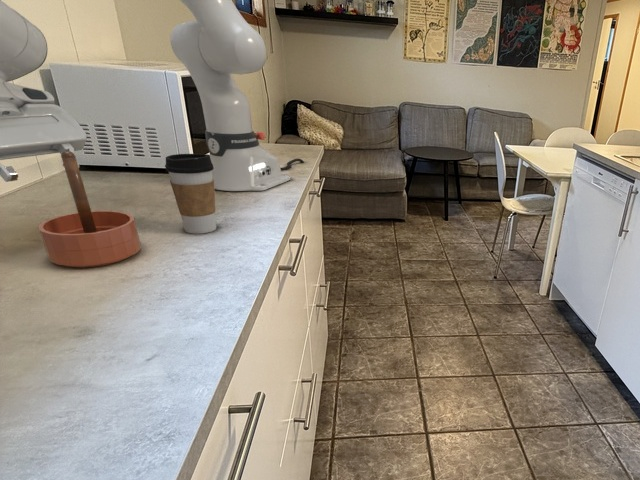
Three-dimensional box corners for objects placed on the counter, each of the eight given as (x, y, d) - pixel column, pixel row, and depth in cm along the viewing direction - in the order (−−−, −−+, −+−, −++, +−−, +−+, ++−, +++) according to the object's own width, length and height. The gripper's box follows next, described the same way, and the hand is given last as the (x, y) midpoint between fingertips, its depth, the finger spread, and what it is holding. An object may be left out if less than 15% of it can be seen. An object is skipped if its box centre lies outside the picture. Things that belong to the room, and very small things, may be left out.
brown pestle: (101, 244, 86) (73, 146, 78) (120, 250, 84) (94, 150, 76) (71, 252, 82) (38, 150, 74) (90, 259, 80) (59, 155, 72)
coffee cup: (205, 238, 93) (192, 161, 87) (168, 232, 95) (151, 156, 88) (231, 225, 101) (221, 153, 94) (196, 220, 102) (183, 149, 95)
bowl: (110, 236, 91) (102, 206, 88) (158, 250, 86) (151, 219, 84) (32, 258, 80) (20, 224, 77) (82, 276, 75) (71, 240, 73)
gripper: (-93, 95, 69) (-29, 173, 70) (59, 91, 86) (109, 154, 87) (-95, 124, 72) (-34, 197, 74) (52, 115, 89) (100, 174, 90)
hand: (45, 174), depth 80 cm, fingers open, 8 cm apart
